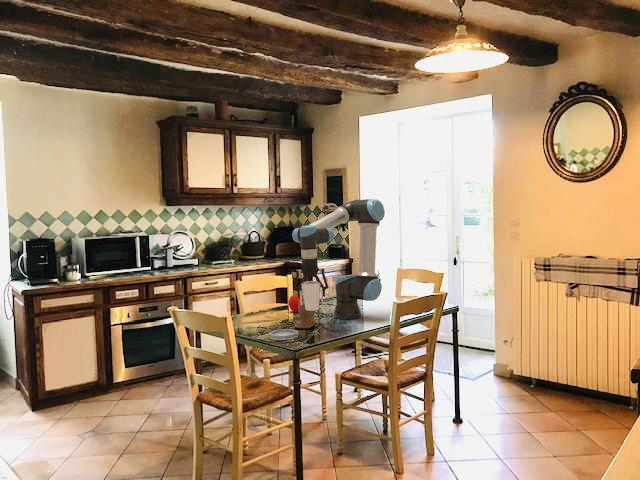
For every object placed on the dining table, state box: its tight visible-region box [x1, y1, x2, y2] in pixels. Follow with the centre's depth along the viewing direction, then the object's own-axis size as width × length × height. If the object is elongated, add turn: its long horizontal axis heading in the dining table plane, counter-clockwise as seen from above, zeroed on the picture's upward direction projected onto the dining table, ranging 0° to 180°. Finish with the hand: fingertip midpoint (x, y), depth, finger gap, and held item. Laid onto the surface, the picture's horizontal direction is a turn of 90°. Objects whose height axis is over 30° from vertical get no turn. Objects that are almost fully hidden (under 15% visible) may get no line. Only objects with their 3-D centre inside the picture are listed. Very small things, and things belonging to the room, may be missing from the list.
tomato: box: [288, 293, 303, 313], centre depth 334 cm, size 10×11×11 cm
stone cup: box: [293, 298, 317, 329], centre depth 294 cm, size 15×12×15 cm
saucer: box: [268, 328, 299, 341], centre depth 275 cm, size 14×14×2 cm
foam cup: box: [301, 280, 321, 311], centre depth 274 cm, size 10×9×13 cm
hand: (311, 303), depth 274 cm, fingers closed on foam cup, 9 cm apart
